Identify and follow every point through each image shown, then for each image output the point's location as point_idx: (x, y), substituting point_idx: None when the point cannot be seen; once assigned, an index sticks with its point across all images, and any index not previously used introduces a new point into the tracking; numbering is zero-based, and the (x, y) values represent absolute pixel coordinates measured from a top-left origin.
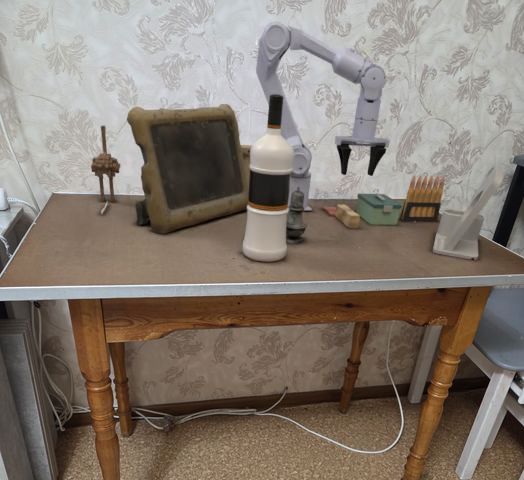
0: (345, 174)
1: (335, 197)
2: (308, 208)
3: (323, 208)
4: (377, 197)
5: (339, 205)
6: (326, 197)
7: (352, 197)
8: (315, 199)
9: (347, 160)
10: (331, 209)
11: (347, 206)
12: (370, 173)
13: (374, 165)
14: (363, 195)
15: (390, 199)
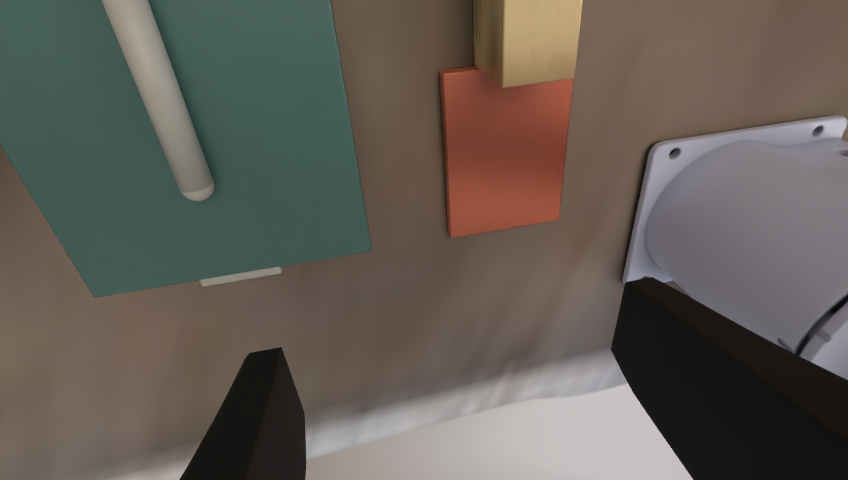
0: (637, 283)
1: (397, 430)
2: (670, 161)
3: (558, 202)
4: (186, 109)
5: (570, 36)
6: (447, 417)
7: None
8: (519, 372)
9: (824, 408)
10: (526, 171)
11: (508, 12)
12: (281, 377)
13: (228, 474)
14: (332, 191)
15: (7, 85)
